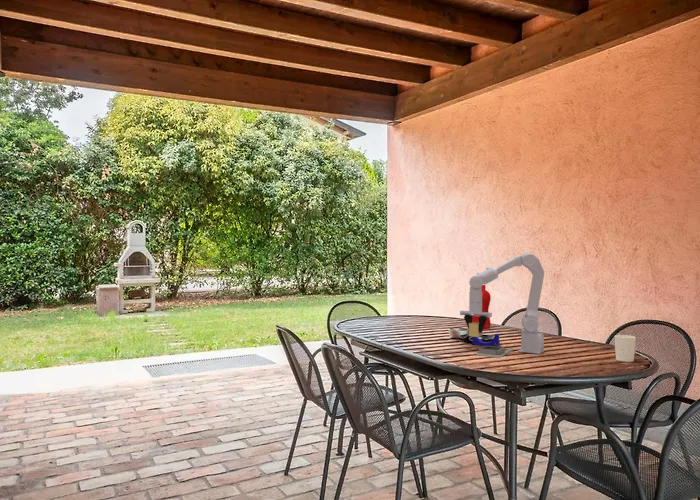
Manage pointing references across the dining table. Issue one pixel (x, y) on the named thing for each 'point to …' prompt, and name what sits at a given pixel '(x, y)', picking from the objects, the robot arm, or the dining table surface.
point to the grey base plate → (493, 351)
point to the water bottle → (484, 307)
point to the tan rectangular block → (474, 329)
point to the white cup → (625, 348)
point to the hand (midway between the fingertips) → (475, 332)
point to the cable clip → (481, 343)
